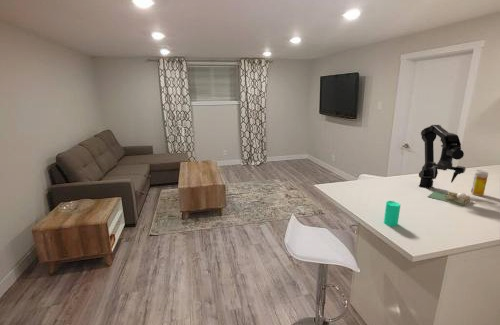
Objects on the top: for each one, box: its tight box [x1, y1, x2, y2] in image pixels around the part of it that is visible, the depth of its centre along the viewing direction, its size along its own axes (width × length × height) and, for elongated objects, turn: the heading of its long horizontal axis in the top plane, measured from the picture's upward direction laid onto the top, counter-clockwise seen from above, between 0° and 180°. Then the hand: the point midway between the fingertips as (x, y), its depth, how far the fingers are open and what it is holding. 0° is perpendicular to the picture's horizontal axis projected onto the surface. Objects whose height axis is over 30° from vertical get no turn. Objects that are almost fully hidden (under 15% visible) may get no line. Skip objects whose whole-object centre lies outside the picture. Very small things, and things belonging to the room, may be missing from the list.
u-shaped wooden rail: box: [445, 191, 471, 205], centre depth 155 cm, size 10×9×2 cm
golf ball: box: [457, 192, 468, 199], centre depth 154 cm, size 4×4×4 cm
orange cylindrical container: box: [470, 169, 489, 197], centre depth 163 cm, size 6×6×15 cm
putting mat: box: [427, 190, 471, 207], centre depth 159 cm, size 18×14×1 cm
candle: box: [383, 200, 401, 227], centre depth 127 cm, size 6×6×12 cm
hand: (442, 180), depth 159 cm, fingers open, 9 cm apart
